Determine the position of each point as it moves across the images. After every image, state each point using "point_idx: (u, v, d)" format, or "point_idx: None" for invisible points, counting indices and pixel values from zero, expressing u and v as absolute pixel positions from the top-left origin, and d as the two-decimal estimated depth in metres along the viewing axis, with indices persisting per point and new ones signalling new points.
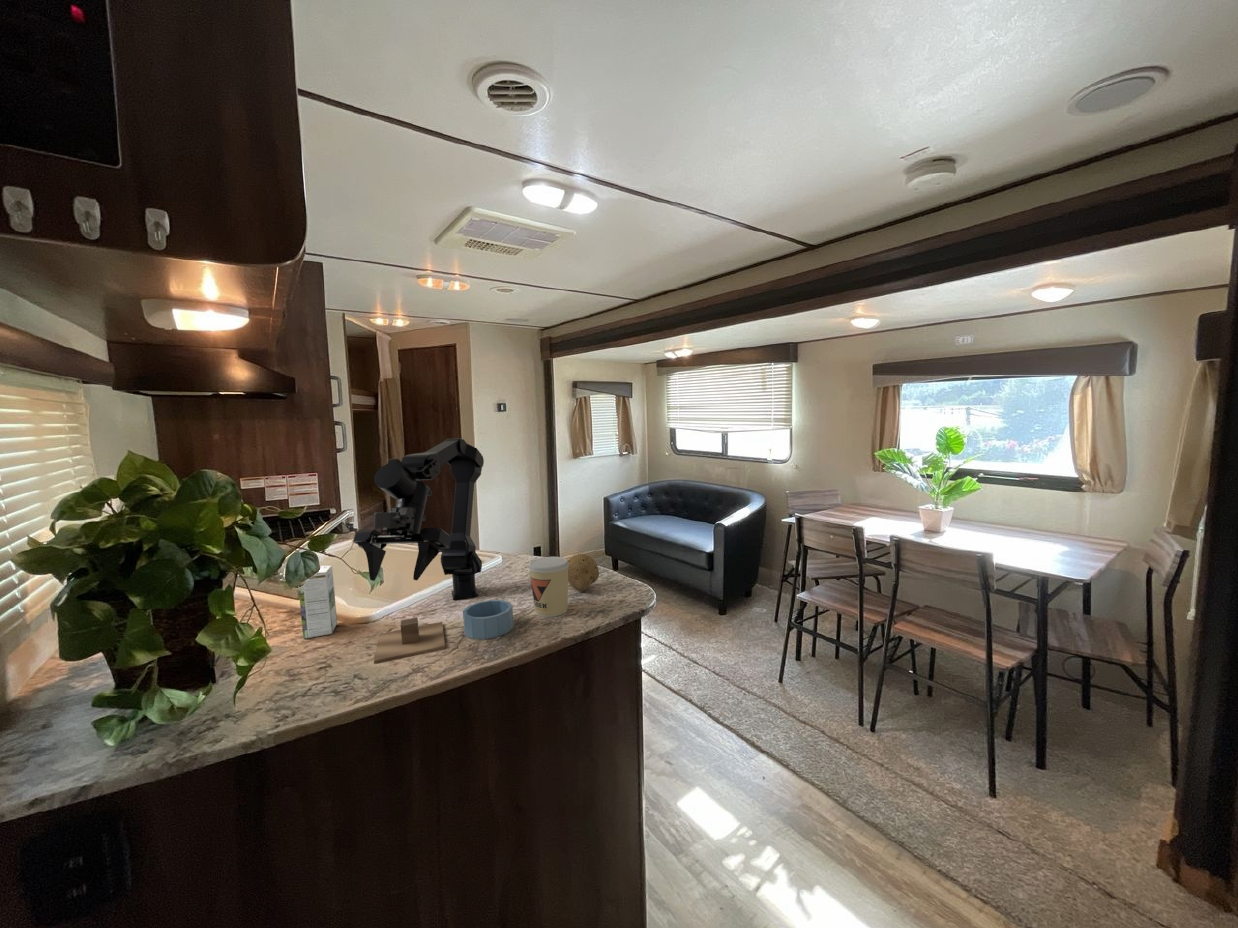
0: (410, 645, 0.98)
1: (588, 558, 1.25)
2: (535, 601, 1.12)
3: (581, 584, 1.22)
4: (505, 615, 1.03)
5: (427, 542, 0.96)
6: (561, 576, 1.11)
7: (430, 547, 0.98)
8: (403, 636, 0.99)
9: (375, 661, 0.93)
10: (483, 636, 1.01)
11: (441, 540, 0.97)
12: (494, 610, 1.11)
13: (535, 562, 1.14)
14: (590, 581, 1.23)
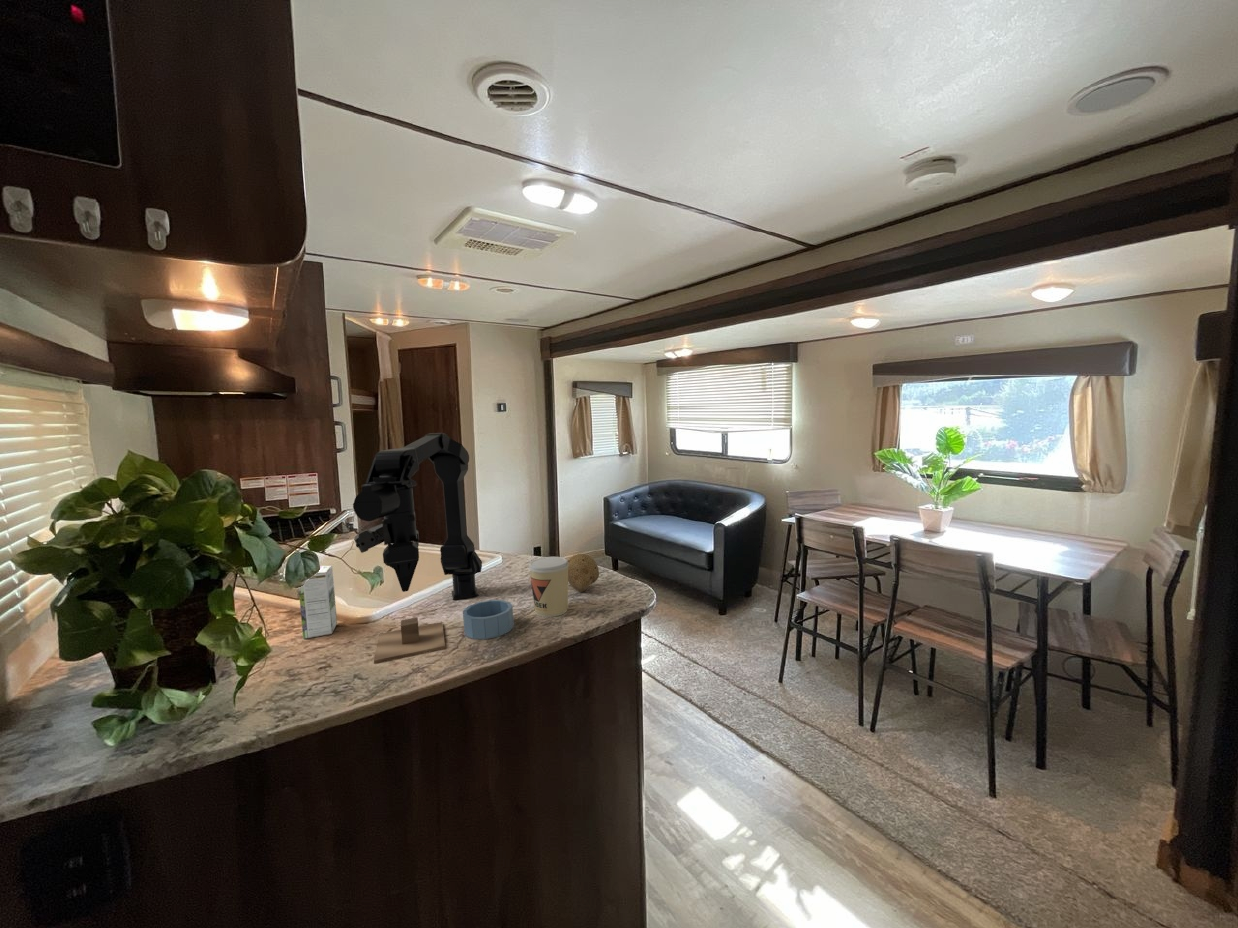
0: (410, 645, 0.98)
1: (588, 558, 1.25)
2: (535, 601, 1.12)
3: (581, 584, 1.22)
4: (505, 615, 1.03)
5: (385, 564, 0.92)
6: (561, 576, 1.11)
7: None
8: (403, 636, 0.99)
9: (375, 661, 0.93)
10: (483, 636, 1.01)
11: (393, 561, 0.90)
12: (494, 610, 1.11)
13: (535, 562, 1.14)
14: (590, 581, 1.23)
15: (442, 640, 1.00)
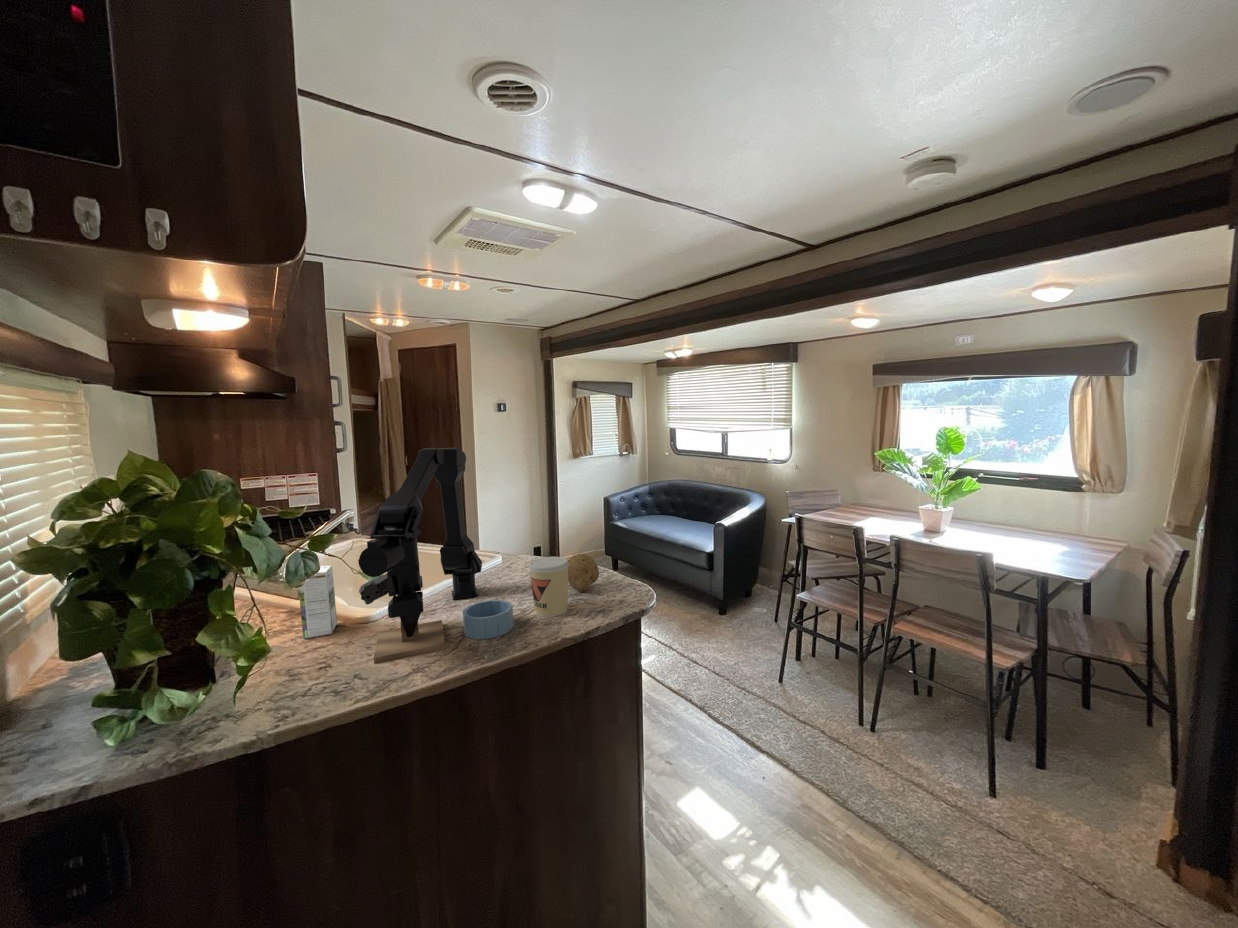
0: (409, 643, 0.98)
1: (588, 558, 1.25)
2: (535, 601, 1.12)
3: (581, 584, 1.22)
4: (505, 615, 1.03)
5: None
6: (561, 576, 1.11)
7: None
8: (403, 634, 0.99)
9: (375, 659, 0.93)
10: (483, 636, 1.01)
11: (397, 615, 0.91)
12: (494, 610, 1.11)
13: (535, 562, 1.14)
14: (590, 581, 1.23)
15: (442, 638, 1.00)
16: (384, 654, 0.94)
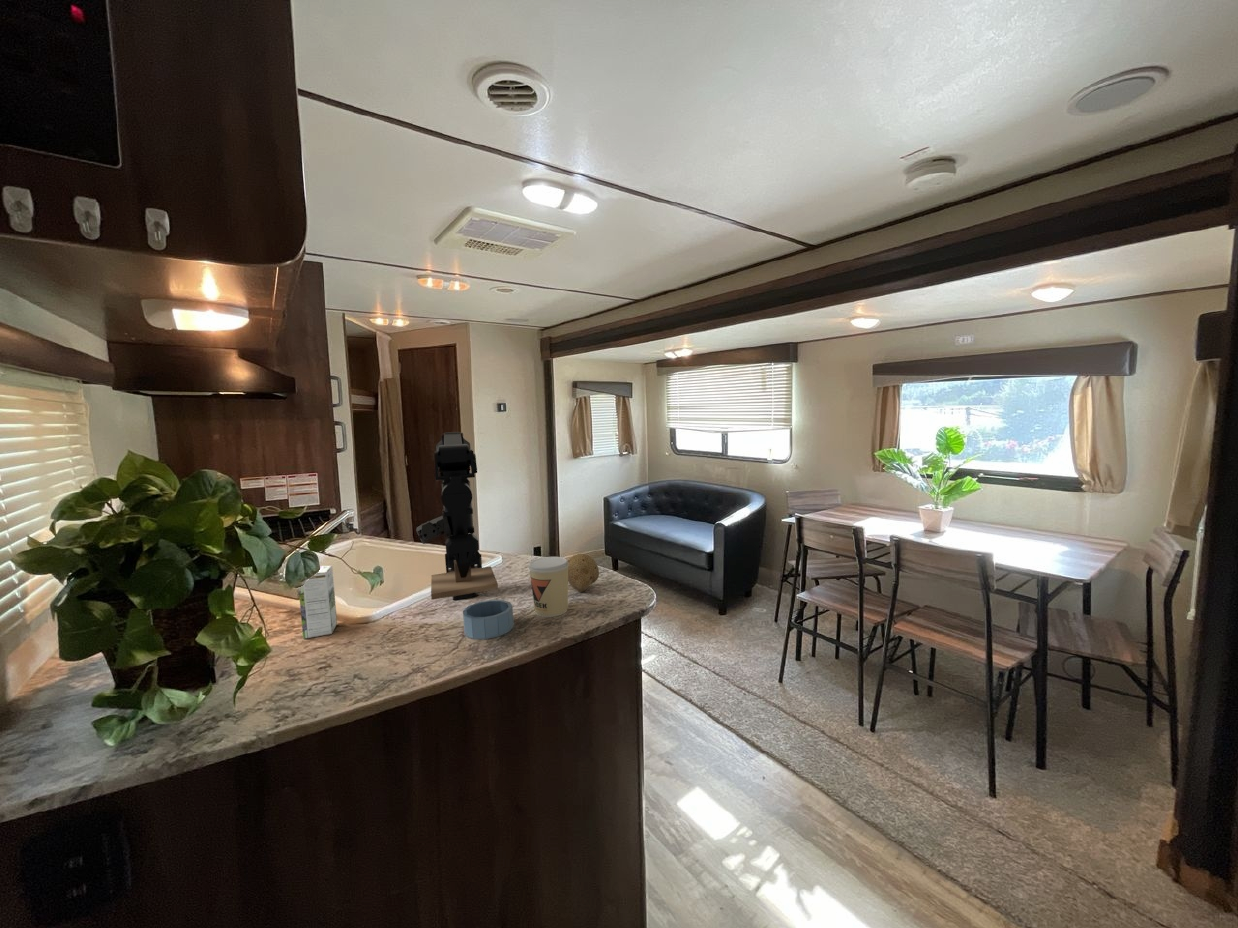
0: (463, 583, 1.01)
1: (588, 558, 1.25)
2: (535, 601, 1.12)
3: (581, 584, 1.22)
4: (505, 615, 1.03)
5: None
6: (561, 576, 1.11)
7: None
8: (457, 574, 1.02)
9: (432, 594, 0.96)
10: (483, 636, 1.01)
11: (455, 552, 0.94)
12: (494, 610, 1.11)
13: (535, 562, 1.14)
14: (590, 581, 1.23)
15: (494, 579, 1.03)
16: (440, 591, 0.97)
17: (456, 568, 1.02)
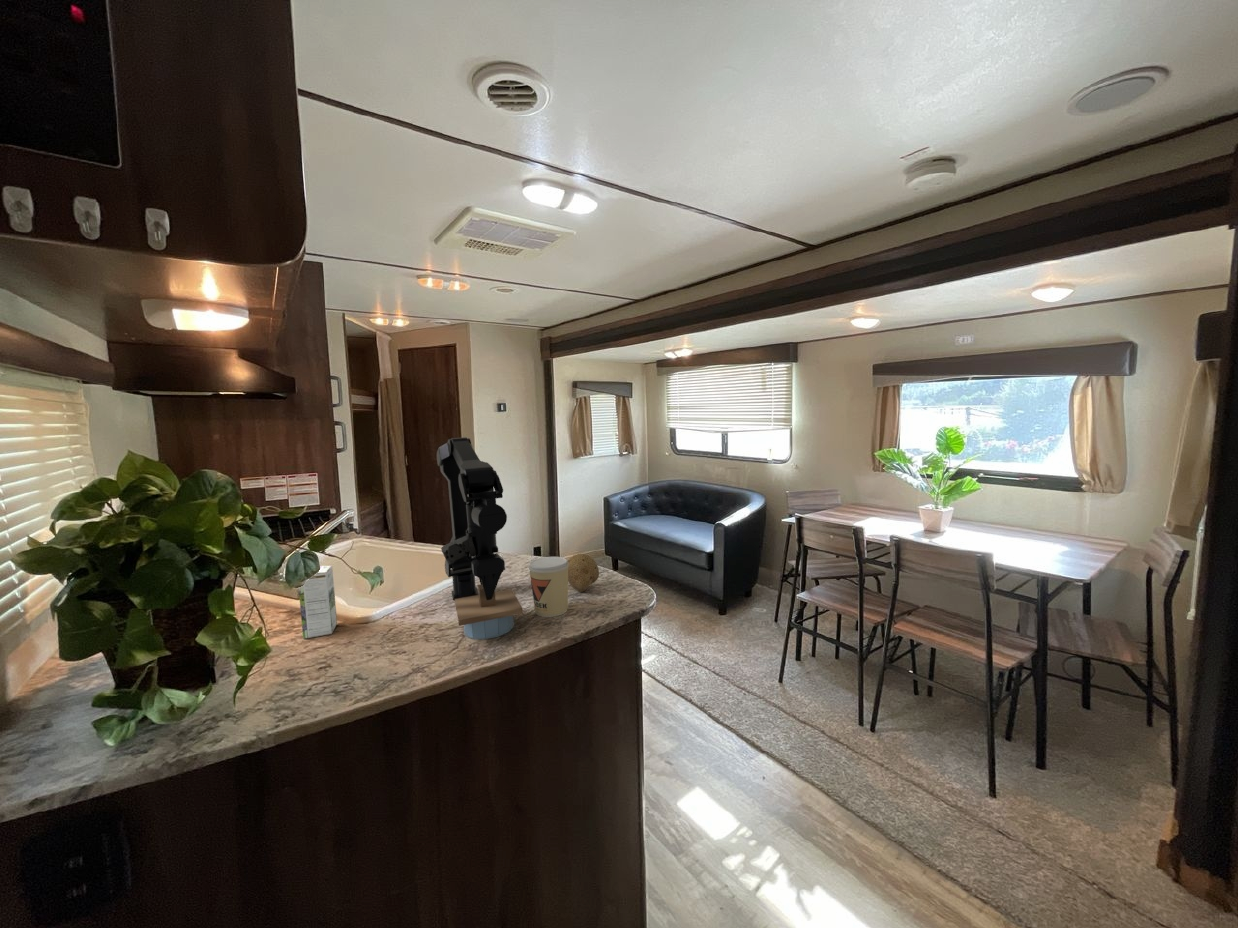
0: (488, 608, 1.03)
1: (588, 558, 1.25)
2: (535, 601, 1.12)
3: (581, 584, 1.22)
4: None
5: (474, 574, 0.98)
6: (561, 576, 1.11)
7: None
8: (481, 599, 1.04)
9: (460, 621, 0.98)
10: (483, 636, 1.01)
11: (482, 572, 0.96)
12: None
13: (535, 562, 1.14)
14: (590, 581, 1.23)
15: (518, 603, 1.05)
16: (467, 617, 0.99)
17: (481, 593, 1.04)
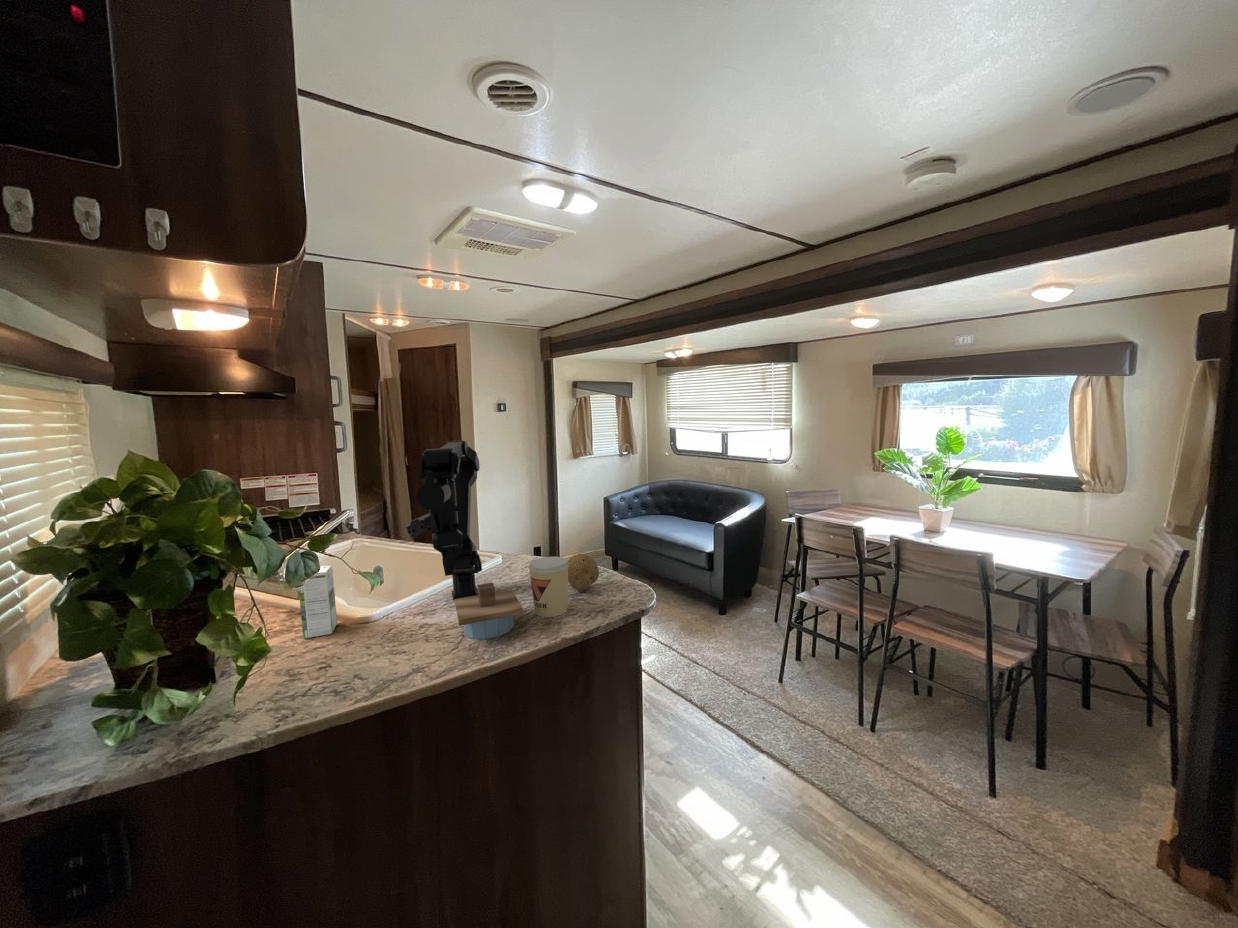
0: (488, 608, 1.03)
1: (588, 558, 1.25)
2: (535, 601, 1.12)
3: (581, 584, 1.22)
4: None
5: (434, 548, 1.04)
6: (561, 576, 1.11)
7: None
8: (481, 599, 1.04)
9: (460, 621, 0.98)
10: (483, 636, 1.01)
11: (441, 545, 1.03)
12: None
13: (535, 562, 1.14)
14: (590, 581, 1.23)
15: (518, 603, 1.05)
16: (467, 617, 0.99)
17: (481, 593, 1.04)
